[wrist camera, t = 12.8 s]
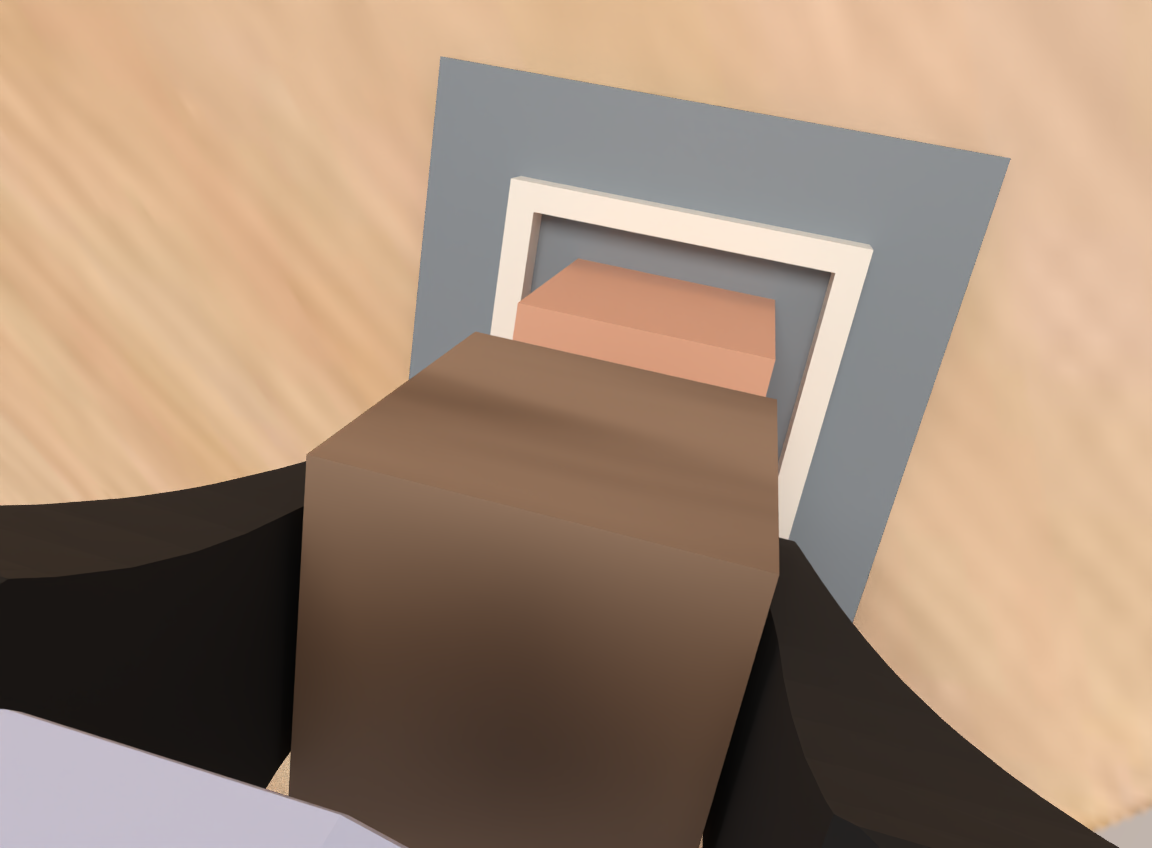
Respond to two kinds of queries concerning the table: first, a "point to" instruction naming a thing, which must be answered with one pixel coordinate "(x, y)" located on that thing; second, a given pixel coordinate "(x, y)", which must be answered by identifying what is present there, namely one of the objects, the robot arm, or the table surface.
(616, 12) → the table surface
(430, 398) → the walnut block
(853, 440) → the board
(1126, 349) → the table surface
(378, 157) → the table surface
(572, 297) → the terracotta block
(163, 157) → the table surface
